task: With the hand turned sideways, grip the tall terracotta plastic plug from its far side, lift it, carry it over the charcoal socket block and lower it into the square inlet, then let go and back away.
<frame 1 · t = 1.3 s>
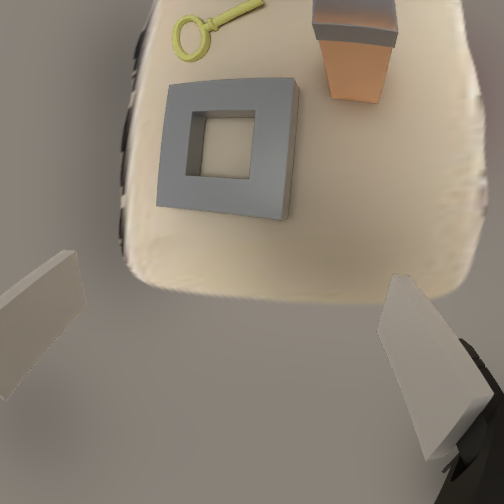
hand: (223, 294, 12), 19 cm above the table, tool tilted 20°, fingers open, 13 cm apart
key: (216, 28, 28), on the table
plug: (355, 80, 24), on the table
socket block: (230, 147, 30), on the table
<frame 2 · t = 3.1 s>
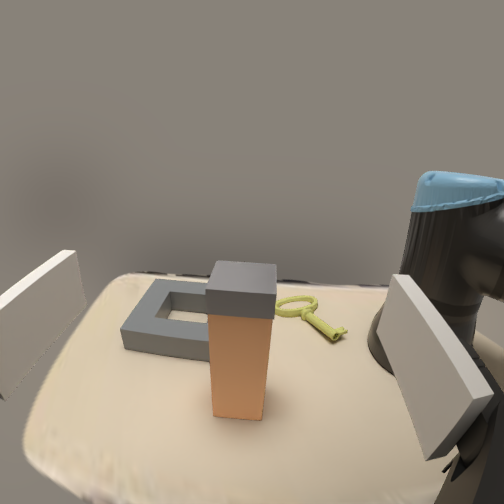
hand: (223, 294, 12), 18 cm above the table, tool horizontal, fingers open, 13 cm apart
key: (306, 321, 42), on the table
plug: (239, 401, 27), on the table
socket block: (187, 325, 39), on the table
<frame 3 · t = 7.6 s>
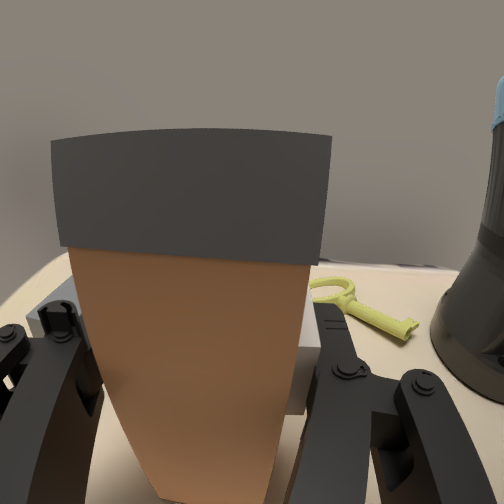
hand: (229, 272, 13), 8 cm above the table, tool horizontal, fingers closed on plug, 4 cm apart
key: (346, 316, 26), on the table
plug: (215, 469, 12), on the table, touching gripper
socket block: (141, 317, 23), on the table
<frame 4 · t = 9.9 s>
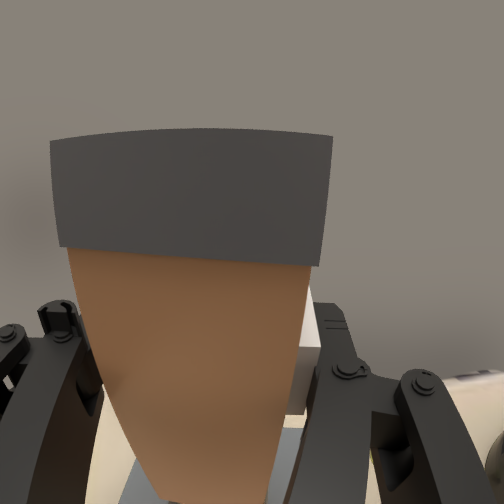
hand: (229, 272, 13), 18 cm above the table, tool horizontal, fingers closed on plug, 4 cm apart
plug: (215, 469, 11), point 10 cm above the table, touching gripper
socket block: (221, 503, 17), on the table
when the fingers open (9 cm above the table, at t = 12.5 s): plug stays where it is, resting in socket block.
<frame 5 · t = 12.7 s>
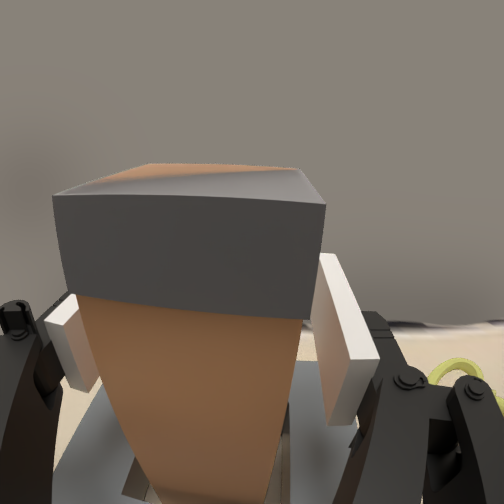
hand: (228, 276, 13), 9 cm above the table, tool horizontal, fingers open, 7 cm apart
key: (481, 412, 15), on the table
plug: (216, 477, 12), resting in socket block
socket block: (216, 476, 12), on the table
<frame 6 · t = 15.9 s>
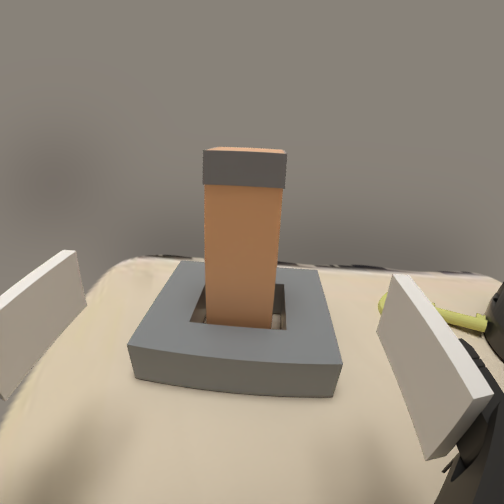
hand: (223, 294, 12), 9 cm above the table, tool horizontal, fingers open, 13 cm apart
key: (427, 321, 26), on the table
plug: (240, 333, 24), resting in socket block
socket block: (240, 333, 24), on the table
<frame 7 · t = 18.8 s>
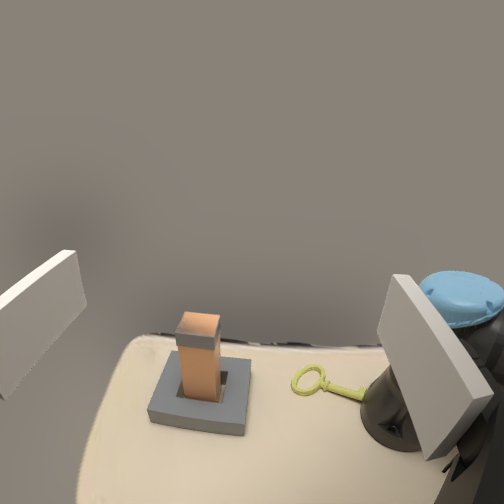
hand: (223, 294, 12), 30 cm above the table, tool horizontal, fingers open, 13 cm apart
key: (325, 390, 44), on the table
plug: (204, 397, 41), resting in socket block
socket block: (204, 396, 41), on the table
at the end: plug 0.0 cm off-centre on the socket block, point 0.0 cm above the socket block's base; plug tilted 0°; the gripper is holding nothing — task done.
